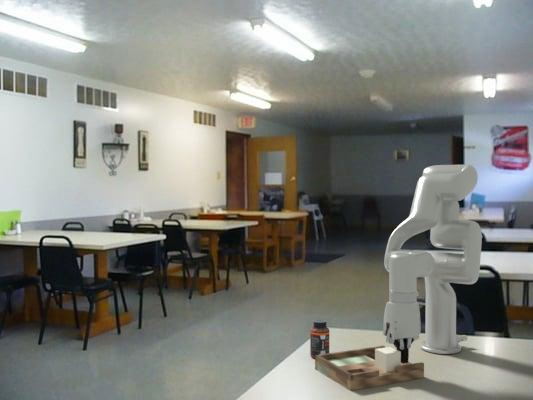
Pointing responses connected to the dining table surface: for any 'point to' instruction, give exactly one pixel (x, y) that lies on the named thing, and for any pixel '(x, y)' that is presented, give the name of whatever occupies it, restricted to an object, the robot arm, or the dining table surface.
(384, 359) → the block
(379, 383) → the tray
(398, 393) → the dining table surface
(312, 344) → the supplement bottle
